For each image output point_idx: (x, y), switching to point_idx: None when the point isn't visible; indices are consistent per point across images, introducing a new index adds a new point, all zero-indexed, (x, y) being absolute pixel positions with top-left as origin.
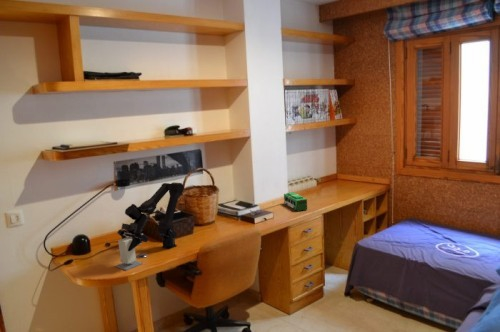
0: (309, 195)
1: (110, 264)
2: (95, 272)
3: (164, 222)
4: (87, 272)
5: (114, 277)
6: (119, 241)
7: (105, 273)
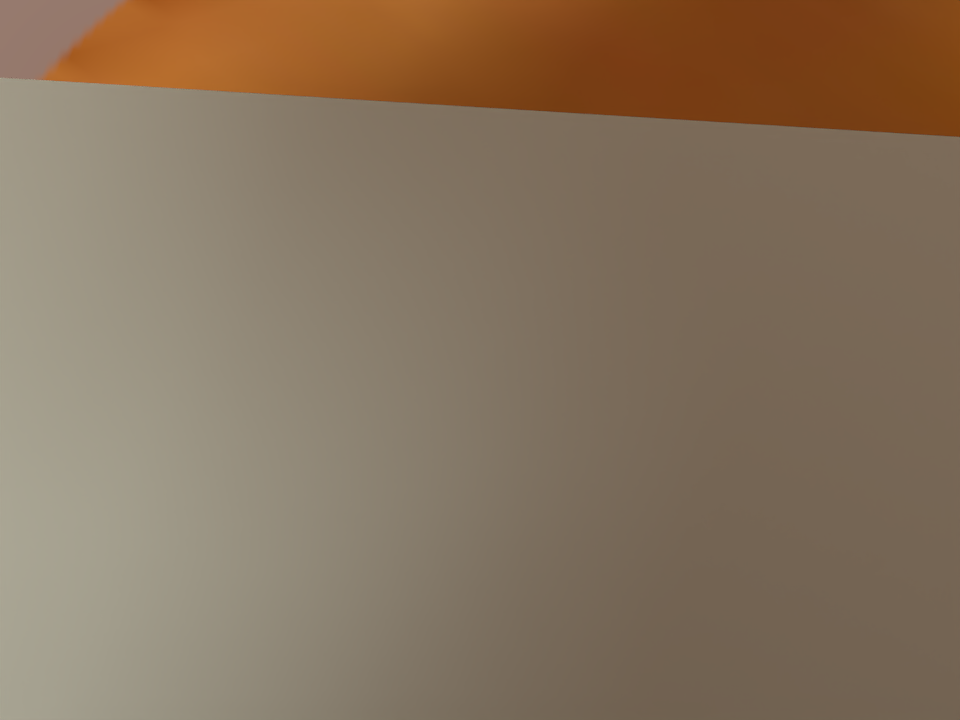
0: None
1: None
2: (708, 62)
3: None
4: (839, 14)
5: (105, 29)
6: (786, 172)
7: (478, 98)
